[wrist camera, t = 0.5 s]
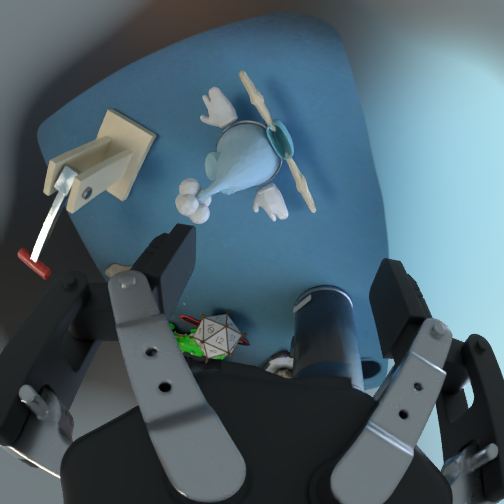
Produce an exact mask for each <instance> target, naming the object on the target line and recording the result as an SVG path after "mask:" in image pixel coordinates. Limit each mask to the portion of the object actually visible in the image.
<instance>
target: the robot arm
mask: <svg viewBox="0 0 504 504" xmlns="http://www.w3.org/2000/svg"><path fill="white" fill-rule="evenodd" d="M195 258H196V228H195V226H191V225H184V224H176V225H175V227H174V228H173V229H172V231H171V232H170V233H169V234H167V233H163V234H161V235H159V236H158V237H156V238H154V239H153V241H152V242H151V243H150V244H149V247H147V248H146V249H145V251H144V252H143V253H142V254H141V256H140V257H139V258H138V260H137V261H136V262H135V263H134V265H133V266H132V267H131V269H130V270H127V271H122V272H119V273H117V274H115V275H114V276H113V277H112V278H111V279H110V280H109V282H108V283H88V280H87V277H86V275H85V274H84V273H82V272H78V271H70V272H67V273H64V274H62V275H60V276H59V277H58V278H57V279H56V280H55V281H54V282H53V283H52V284H51V286H50V287H49V288H48V289H47V291H46V292H45V293H44V294H43V296H42V297H41V298H40V299H39V301H38V302H37V303H36V305H35V306H34V307H33V308H32V310H31V311H30V312H29V314H28V315H27V316H26V318H25V319H24V321H23V322H22V323H21V325H20V326H19V327H18V329H17V330H16V332H15V333H14V335H13V336H12V338H11V339H10V340H9V342H8V343H7V345H6V347H5V348H4V350H3V351H2V353H1V354H0V447H1V448H3V449H4V450H6V451H7V452H9V453H10V454H12V455H13V456H15V457H16V458H18V459H19V460H21V461H22V462H24V463H26V464H28V465H29V466H31V467H35V468H39V467H40V468H42V469H44V470H46V471H47V472H49V473H51V474H53V475H55V476H56V477H58V478H60V479H61V485H62V491H63V499H64V504H496V503H498V502H500V501H501V500H503V499H504V379H503V376H502V373H501V370H500V368H499V365H498V363H497V360H496V357H495V355H494V353H493V350H492V348H491V346H490V344H489V343H488V341H487V340H486V339H485V338H484V337H482V336H480V335H478V334H471V335H470V336H469V337H468V339H467V340H466V341H465V342H462V341H459V340H456V339H454V338H452V333H451V331H450V329H449V328H448V327H447V326H446V325H445V324H444V323H443V322H441V321H440V320H437V319H434V318H432V315H431V313H430V311H429V309H428V306H427V304H426V302H425V300H424V298H423V295H422V293H421V292H420V289H419V287H418V285H417V283H416V281H415V280H414V279H413V278H412V277H411V276H410V275H409V274H407V273H406V271H405V269H404V267H403V265H402V263H401V261H397V260H392V259H387V258H384V259H383V260H382V262H381V264H380V266H379V269H378V271H377V274H376V276H375V279H374V281H373V283H372V286H371V288H370V293H369V300H370V304H371V308H372V312H373V316H374V320H375V324H376V328H377V332H378V337H379V341H380V345H381V350H382V355H383V358H389V359H394V362H395V365H394V366H393V367H392V369H391V370H390V372H389V374H388V375H387V377H386V378H385V380H384V381H383V383H382V384H381V386H380V387H379V389H378V390H377V392H376V393H375V395H374V396H373V397H371V396H370V395H368V394H367V393H365V388H364V380H363V373H362V365H361V358H360V352H359V345H358V339H357V333H356V327H355V321H354V315H353V310H352V309H353V307H352V301H351V299H350V297H349V295H348V294H347V293H346V292H345V291H343V290H342V289H340V288H337V287H333V286H318V287H314V288H311V289H309V290H307V291H305V292H304V293H303V294H302V295H300V297H299V298H298V299H297V301H296V303H295V307H294V308H293V313H295V327H294V336H293V337H292V341H291V350H290V352H288V351H281V352H279V353H277V354H276V355H275V356H274V357H273V358H272V360H274V359H275V358H278V357H280V356H282V355H286V356H288V357H289V358H293V372H292V378H285V377H282V376H279V375H277V374H274V373H271V372H269V371H266V369H267V368H268V367H269V365H270V364H271V363H269V361H270V360H269V361H268V362H267V363H266V364H265V365H264V367H263V368H262V369H261V368H258V367H256V366H251V365H245V364H239V363H234V362H229V361H224V360H221V364H220V368H219V369H213V370H205V371H200V372H197V373H194V374H192V372H191V370H190V368H189V366H188V364H187V362H186V360H185V358H184V356H183V354H182V352H181V349H180V347H179V345H178V343H177V341H176V339H175V336H174V334H173V332H172V330H171V327H170V325H169V323H168V321H169V319H170V317H171V315H172V313H173V311H174V309H175V307H176V305H177V302H178V300H179V298H180V296H181V294H182V292H183V290H184V288H185V286H186V284H187V282H188V280H189V278H190V276H191V274H192V272H193V269H194V266H195ZM67 330H68V331H67ZM65 333H66V334H65ZM103 340H104V341H119V343H120V346H121V350H122V354H123V357H124V361H125V364H126V368H127V371H128V375H129V378H130V381H131V384H132V387H133V390H134V393H135V396H136V399H137V402H138V406H136V407H134V408H132V409H131V410H129V411H127V412H126V413H124V414H122V415H120V416H119V417H117V418H115V419H113V420H111V421H109V422H107V423H106V424H104V425H102V426H100V427H98V428H97V429H95V430H93V431H91V432H89V433H87V434H85V435H83V436H81V437H79V438H78V439H76V440H75V441H74V442H73V441H72V432H73V428H74V421H73V417H72V415H71V414H70V412H69V409H70V407H71V404H72V402H73V400H74V397H75V396H76V393H77V391H78V389H79V387H80V385H81V383H82V381H83V378H84V376H85V374H86V372H87V370H88V368H89V366H90V364H91V362H92V360H93V358H94V356H95V354H96V352H97V350H98V348H99V346H100V344H101V342H102V341H103ZM469 381H470V382H471V386H472V389H473V393H474V401H473V404H472V406H471V407H470V408H469V409H468V404H467V400H466V397H465V393H464V389H463V388H464V387H465V386H466V385H467V383H468V382H469ZM435 403H436V408H437V414H438V421H439V427H440V434H441V442H442V450H443V460H444V465H443V467H442V469H441V472H440V471H439V470H438V468H437V467H436V466H435V465H434V464H433V463H432V462H431V461H430V460H429V458H428V457H427V456H426V455H425V454H424V453H423V452H422V451H421V449H420V448H419V447H418V446H417V445H416V443H417V441H418V439H419V438H420V436H421V433H422V431H423V429H424V427H425V425H426V423H427V421H428V419H429V416H430V414H431V412H432V410H433V407H434V405H435Z"/></svg>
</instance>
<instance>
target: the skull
mask: <svg viewBox="0 0 504 504" xmlns="http://www.w3.org/2000/svg"><path fill="white" fill-rule="evenodd" d="M275 355H276V354H275ZM275 355H273V356H272V357H271V359H270V361H269V363H271V364H270V365H269V367H268V368H267V369H266V371H269V372H271V373H274V374H277V375H279V376H282V377H285V378H292V372H293V358H289V357H288V356H286V355H282V356H280V357H278V358H275V359H274V360H272V358H273V357H274V356H275Z"/></svg>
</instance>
